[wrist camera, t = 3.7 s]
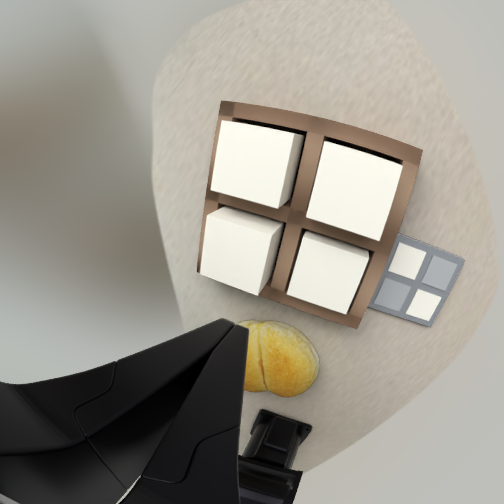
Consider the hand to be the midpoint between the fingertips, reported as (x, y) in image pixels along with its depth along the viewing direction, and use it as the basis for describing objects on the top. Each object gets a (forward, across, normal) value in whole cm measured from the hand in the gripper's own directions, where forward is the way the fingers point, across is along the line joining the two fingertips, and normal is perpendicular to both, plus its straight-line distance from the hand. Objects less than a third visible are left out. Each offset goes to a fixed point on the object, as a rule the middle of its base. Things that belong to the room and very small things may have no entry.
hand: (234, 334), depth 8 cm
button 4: (+12, +4, -3) cm, 13 cm away
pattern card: (+13, -9, +2) cm, 16 cm away
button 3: (+12, +4, +3) cm, 13 cm away
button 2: (+12, -2, -3) cm, 13 cm away
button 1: (+13, -2, +3) cm, 14 cm away
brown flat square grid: (+13, +1, 0) cm, 13 cm away
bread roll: (+14, 0, +14) cm, 19 cm away
